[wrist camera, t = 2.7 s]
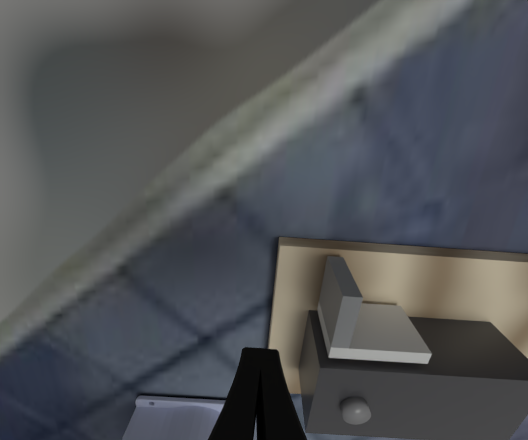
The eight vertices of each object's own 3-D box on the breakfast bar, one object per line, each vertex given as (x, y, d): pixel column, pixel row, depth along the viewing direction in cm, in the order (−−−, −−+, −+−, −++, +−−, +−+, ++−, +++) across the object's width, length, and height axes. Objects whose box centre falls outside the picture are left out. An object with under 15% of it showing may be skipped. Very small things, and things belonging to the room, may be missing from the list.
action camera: (298, 368, 21) (306, 443, 17) (308, 309, 19) (321, 378, 14) (469, 379, 21) (525, 456, 17) (501, 322, 19) (577, 393, 14)
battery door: (317, 309, 18) (328, 357, 15) (327, 255, 17) (343, 296, 13) (397, 314, 18) (427, 364, 15) (415, 262, 17) (454, 303, 13)
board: (264, 378, 23) (264, 391, 22) (279, 236, 18) (279, 245, 17) (488, 391, 24) (499, 405, 23) (571, 256, 18) (591, 266, 17)
